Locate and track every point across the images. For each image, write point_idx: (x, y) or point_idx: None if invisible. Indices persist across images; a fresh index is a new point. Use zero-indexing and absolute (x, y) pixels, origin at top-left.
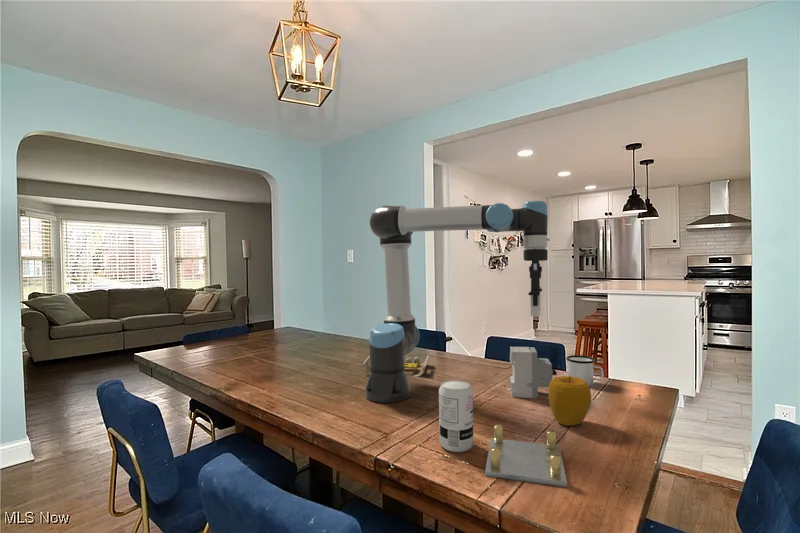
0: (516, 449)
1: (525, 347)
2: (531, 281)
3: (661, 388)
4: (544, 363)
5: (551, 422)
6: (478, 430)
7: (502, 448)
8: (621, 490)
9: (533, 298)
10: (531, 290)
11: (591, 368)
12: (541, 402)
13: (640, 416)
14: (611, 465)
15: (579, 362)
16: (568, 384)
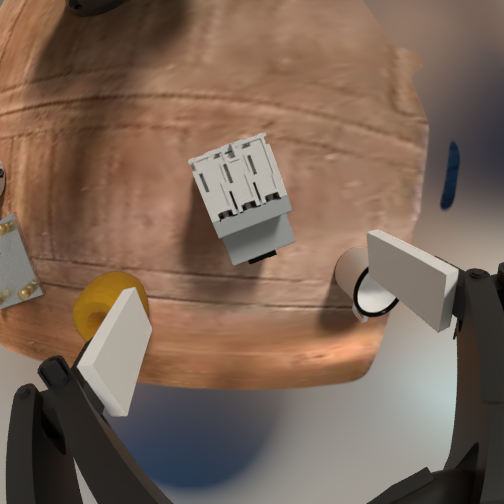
0: (9, 251)
1: (276, 184)
2: (9, 461)
3: (363, 370)
4: (233, 246)
5: (111, 266)
6: (31, 179)
7: (3, 236)
8: (27, 345)
9: (73, 371)
10: (16, 403)
11: (360, 305)
12: (196, 226)
13: (219, 367)
14: (54, 340)
15: (353, 293)
16: (78, 330)
